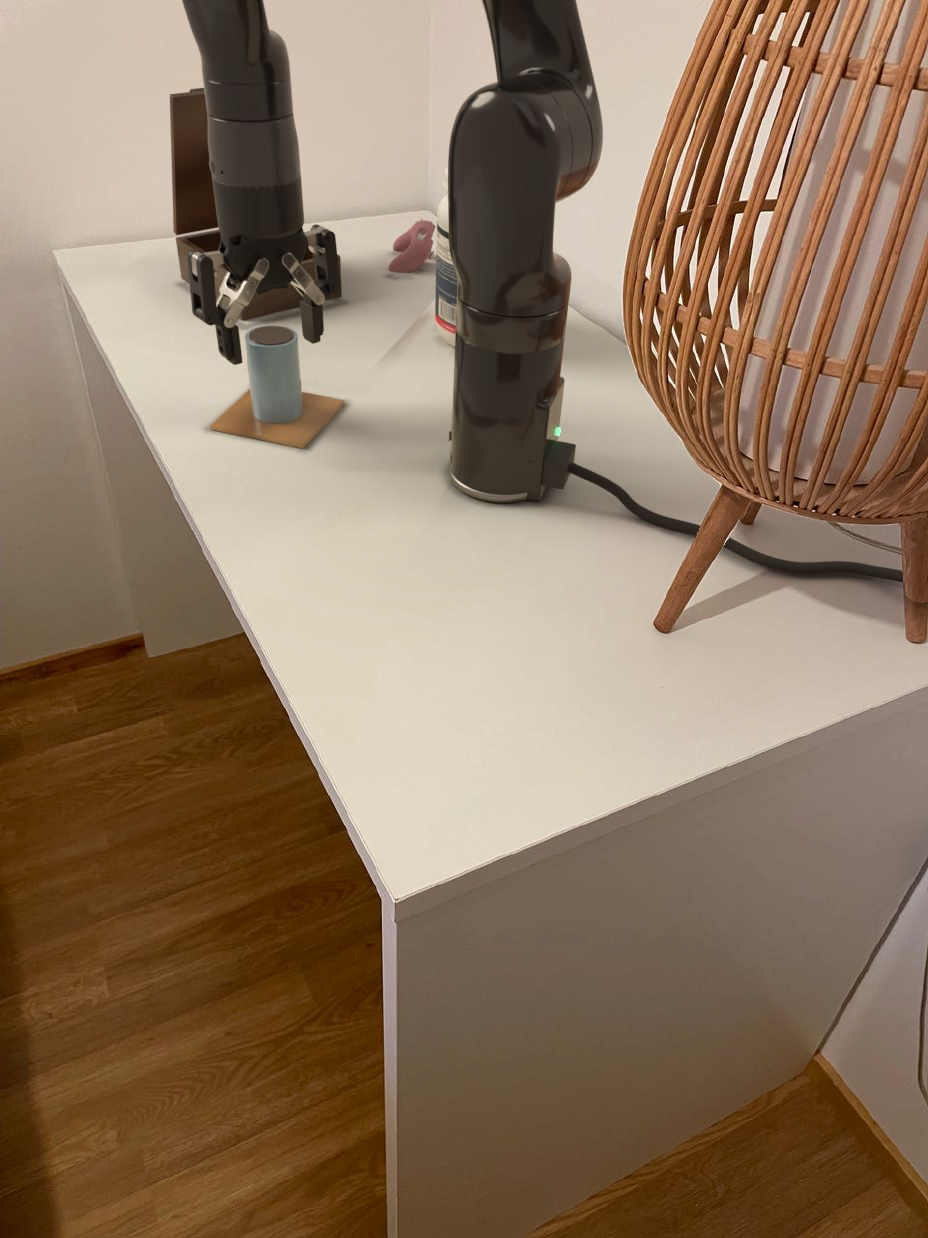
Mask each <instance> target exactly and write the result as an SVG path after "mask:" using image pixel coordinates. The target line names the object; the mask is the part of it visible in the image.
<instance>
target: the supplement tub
mask: <svg viewBox="0 0 928 1238" xmlns="http://www.w3.org/2000/svg"><path fill="white" fill-rule="evenodd" d="M442 184H443V185H442V187H443V189H444V190H445V191H446V193H447V194H446V195H445V196H444V197H442V199H441V201H440V202H439V204H438V208H437V213H436V249H435V252H436V255H435V257H436V258H435V295H434V297H435V299H434V300H435V301H434V326H435V330H436V332H437V334H438V335H439V337H440V338H441V339H442V340H443V341H444V342H446V343H447V344H449V345H450V346H452V347H454V348H455V334H456V310H457V285H458V280H457V274H456V271H455V268H454V265H453V262H452V259H451V255H450V249H449V221H448V166H447V167H446V168H445V170H444V181H443V183H442Z"/></svg>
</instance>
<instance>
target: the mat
mask: <svg viewBox="0 0 928 1238" xmlns="http://www.w3.org/2000/svg"><path fill="white" fill-rule="evenodd" d="M302 404H303V413H302V415H301V416H300V417H299V418H297V419H296V420H293V421H291V422H287V423H278V424H275V423H266V422H263V421H260V420H258V419H256V418H255V417H254V415H253V411H252V402H251V392H250V389H248V390H247V391H246V392H245V393H244V394H243V395H242V396H241V397H239V398H238V399H237V400H236V401H235V402H234V403H233V404H232V405H230V407H229V408H227V410H225V411H224V412H223V413H222V414H221V415H220V416H219V417H218V418H216V419H215V420H214V421H213V422H212V423H211V424H210V425H209V429H210V430H212V431H216V432H221V433H227V434H231V435H236V436H241V437H245V438H250V439H256V440H260V441H266V442H269V443H276V444H280V445H285V446H290V447H295V448H300V449H305V447H306V446H307V445H309V443H310V442H311V441H312V440H313V439H314V438H315V436H317V434H318V433H319V432H320V431H321V430H322V429H323V428H324V427H325V425H326V424H327V423H328V422H330V420H331V419H332V418H333V417H334V415H336V413H337V412H338V411H339V410H340V409H341V408H342V407H343V406H344V404H345V400H344V399H341V398H336V397H330V396H325V395H319V394H314V393H309V392H305V391H302Z"/></svg>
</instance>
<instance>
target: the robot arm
mask: <svg viewBox="0 0 928 1238" xmlns="http://www.w3.org/2000/svg"><path fill="white" fill-rule="evenodd" d="M480 1H481V5H482V8H483V11H484V15H485V18H486V23H487V26H488V32H489V37H490V42H491V47H492V54H493V59H494V66H495V74H496V81H494V82H492V83H489V84H486V85H485V86H482V87H480V88H478V89H477V90H475V91H474V92H472V93H470V95H469V96H467V98H466V99H465V100H464V101H463V102H462V104H461V105H460V107H459V109H458V111H457V113H456V116H455V117H454V121H453V124H452V128H451V132H450V138H449V144H448V145H449V146H448V154H447V155H448V156H447V157H448V159H447V167H448V192H447V194H448V221H449V249H450V255H451V259H452V262H453V265H454V268H455V271H456V274H457V280H458V285H457V310H456V334H455V347H454V358H453V359H454V361H453V363H454V364H453V387H452V412H451V413H452V414H451V430H450V431H448V442H451V443H450V455H449V465H448V476H449V479H450V481H451V483H452V484H453V486H454V487H455V488H457V489H458V490H459V491H460V492H462V493H464V494H465V495H468V496H470V497H472V498H476V499H479V500H481V501H488V502H494V503H514V502H521V501H532V502H540V500H541V499H542V496H543V494H544V492H545V490H546V489H547V487H549V488H553V489H559V490H564V488H565V486H566V484H567V482H568V479H569V477H570V475H571V474H572V475H574V476H576V477H577V478H580V479H582V480H585V481H587V482H590V483H591V484H593V485H596V486H597V487H599V488H601V489H603V490H604V491H607V492H608V493H610V494H611V495H613V496H614V497H615V498H616V499H617V500H618V501H619V502H620V503H621V505H623V506H624V508H626V509H627V510H628V511H629V512H630V513H632V514H633V515H635V516H636V517H638V518H640V519H642V520H644V521H646V522H648V523H651V524H654V525H656V526H659V527H663V528H666V529H670V530H673V531H678V532H681V533H686V534H690V535H693V536H696V534H697V532H698V531H699V528H700V526H701V525H700V524H696V523H693V522H689V521H685V520H681V519H678V518H673V517H668V516H666V515H662V514H659V513H657V512H655V511H652V510H650V509H648V508H646V507H644V506H642V505H640V504H639V503H638V502H637V501H635V500H634V499H633V498H632V496H630V494H629V493H628V492H627V491H626V490H625V489H624V488H622V487H621V486H620V485H618V484H617V483H615V482H614V481H612V480H611V479H609V478H607V477H605V476H603V475H602V474H599V473H597V472H595V471H592V470H591V469H588V468H586V467H583V466H581V465H579V464H577V463H575V456H576V450H577V449H576V448H577V444H576V443H570V442H566V441H561V440H559V437H560V434H561V427H560V426H561V425H560V424H561V416H562V409H563V399H564V391H565V378H564V377H563V376H561V372H562V364H563V356H564V346H565V337H566V330H567V329H566V328H567V322H568V321H567V320H568V311H569V301H570V295H571V287H572V268H571V266H570V264H569V261H567V260H566V259H565V258H564V256H561V254H558V253H557V252H555V251H554V233H555V231H554V230H555V217H556V216H555V214H556V204H557V203H559V202H562V201H563V200H565V199H567V198H569V197H571V196H573V195H575V194H576V193H579V191H581V190H582V189H583V188H585V186H586V185H587V184H588V183H589V182H590V181H591V179H592V177H593V176H594V174H595V172H596V170H597V169H598V166H599V163H600V160H601V157H602V156H601V155H602V151H603V143H604V126H603V125H604V124H603V117H602V110H601V105H600V100H599V95H598V90H597V86H596V81H595V77H594V73H593V69H592V64H591V60H590V55H589V51H588V47H587V42H586V38H585V33H584V30H583V25H582V22H581V17H580V13H579V8H578V3H577V0H480ZM181 3H182V6H183V9H184V12H185V15H186V18H187V21H188V24H189V28H190V30H191V31H190V32H191V33H192V37H193V39H194V41H195V44H196V47H197V50H198V52H199V55H200V61H201V75H202V83H203V88H204V92H205V100H206V108H207V118H208V149H209V157H210V159H209V166H210V170H211V173H212V181H213V189H214V197H215V205H216V213H217V221H218V230H219V231H220V235H221V243H220V246H219V249H218V251H212V252H204V253H201V252H199V251H198V250H196V249H192V250H190V251H189V252H188V255H187V259H188V269H189V280H190V284H189V290H190V301H191V312H192V315H193V316H194V317H196V318H197V319H199V320H200V321H202V322H203V323H204V324H206V325H208V326H211V327H212V326H215V327H214V328H215V333H216V340H217V348H218V352H219V354H220V356H222V357H223V358H224V359H225V360H227V361H228V362H229V363H231V364H232V365H233V366H237V365H240V364H242V363H243V354H242V353H243V352H242V345H241V337H240V329H239V326H238V325H237V322H238V320H239V316H240V314H241V312H242V310H243V308H244V307H247V306H248V305H249V303H250V301H251V299H252V297H253V295H254V293H256V294H258V295H259V294H263V293H266V292H268V291H270V290H272V289H284V288H288V284H290V283H291V284H292V285H293V286H294V287H295V288H296V289H297V291H298V292H299V293H300V294H301V295H302V296H303V298H304V300H301V301H300V307H299V308H300V318H301V320H300V321H301V332H302V336H303V338H304V340H305V341H307V342H309V343H310V344H313V345H314V344H318V343H321V336H323V335H324V331H325V324H324V307H323V305H324V303H325V302H326V301H325V299H326V298H327V297H328V296H330V295H331V294H333V295H336V294H338V293H339V292H340V289H341V288H342V285H341V286H340V276H339V267H338V257H337V254H338V249H337V247H338V246H337V238H336V234H335V232H334V231H332V230H330V229H328V228H326V227H324V226H323V225H320V224H313V225H312V226H311V228H310V230H307V231H304V228H303V226H304V224H305V214H304V210H305V209H304V199H303V183H302V169H301V157H300V145H299V137H298V132H297V126H296V122H295V115H294V113H295V112H294V101H293V87H292V74H291V63H290V57H289V52H288V48H287V44H286V41H285V40H284V39H283V37H282V36H281V35H280V34H279V33H278V32H276V31H274V30H273V29H270V26H269V22H268V18H267V12H266V7H265V2H264V0H181ZM308 247H309V250H310V251H311V252H313V259H314V267H315V275H316V282H314V280H313V279H312V278H311V277H310V276H309V274H308V273H307V272H306V271H305V270H304V268H303V267H302V266H301V265H300V264H301V262H302V260H303V258H304V256H305V254H306V252H307V249H308ZM221 265H223V266H224V267H225V268H226V269H227V273H226V275H225V278H224V280H223V282H222V284H221V286H220V289H219V291H220V295H219V297H218V299H217V301H216V293H215V280H214V279H215V278H216V277H218V275H219V274H218V270H219V268H220V266H221ZM238 283H239V284H240V285H241V287H240V289H239V290H238V291H236V288H237V285H238ZM728 537H729V539H728V540H727V541H726V543H725V545H724V546H722V547H723V548H725V549H726V550H729V551H730V552H732V553H735V554H736V555H738V556H740V557H742V558H744V559H746V560H748V561H750V562H752V563H755V564H757V565H759V566H763V567H766V568H769V569H771V570H776V571H779V572H780V571H781V572H785V573H793V574H807V575H808V574H830V573H845V574H855V575H861V576H867V577H871V578H877V579H882V580H888V581H894V582H899V583H902V584H904V583H903V572H902V571H903V570H900V569H896V568H892V567H891V568H889V567H884V566H879V565H872V564H868V563H863V562H855V561H847V560H846V561H843V560H828V561H795V560H786V559H781V558H777V557H774V556H770V555H767V554H765V553H762V552H760V551H758V550H755V549H753V548H751V547H750V546H747V545H745V544H743V543H741V542H740V541H737V540H735V539H734V538H732V537H730V536H728Z"/></svg>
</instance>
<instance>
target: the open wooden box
mask: <svg viewBox="0 0 928 1238" xmlns="http://www.w3.org/2000/svg"><path fill="white" fill-rule="evenodd" d="M175 242H176V250H177V251H176V252H177V256H178V264H179V272H180V277H181V280H183V281H184V282H186V283H187V284H189V285H190V280H189V269H188V259H187V255H188V252H189V251H190V250H192V249H196V250H198V251H199V252H201V253H204V252H212V251H218V249H219V246H220V243H221V235H220V231H219V229H214V230H210V231H204V232H199V233H193V234H188V235H182V236H177V237H175ZM337 257H338V267H339V276H340V286H341V289H340V292H339V293H338V294H336V295H333V294H331V295H330V296H328V297H327V298H326V299H325V301H324V302H326V301H332V300H334V299H338V298H342V297H343V294H342V293H343V291H342V290H343V289H342V264H341V255H339V253H337ZM300 265H301V266H302V267H303V268H304V270H305V271H306V272H307V273H308V274H309V276H310V277H311V278H312V279H313V280H314V282H316V275H315V267H314V259H313V252H311V251H310V250H309V247H308V249H307V252H306V254H305V256H304V258H303V260H302V262H301V264H300ZM226 273H227V269H226V268H225V267H224V266H223V265H221V266H220V268H219V270H218V274H219V275H218V277H216V278H215V279H214V280H215V293H216V301H217V299H218V297H219V295H220V291H219V289H220V286H221V284H222V282H223V280H224V278H225V275H226ZM240 287H241V285H240V284H239V283H238V285H237V288H236V291H238V290H239V289H240ZM301 300H304V298H303V296H302V295H301V294H300V293H299V292H298V291H297V289H296V288H295V287H294V286H293V285H292V284H291V283H290V284H288V288H284V289H272V290H270V291H268V292H266V293H263V294H259V295H258V294H256V293H254V295H253V297H252V299H251V301H250V303H249V305H248V306H247V307H244V308H243V310H242V312H241V314H240V316H239V318H238V320H240V321H242V322H243V321H248V320H252V319H256V318H260V317H264V316H268V315H273V314H276V313H281V312H285V311H289V310H292V309H293V310H294V309H297V308H300V301H301Z"/></svg>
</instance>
